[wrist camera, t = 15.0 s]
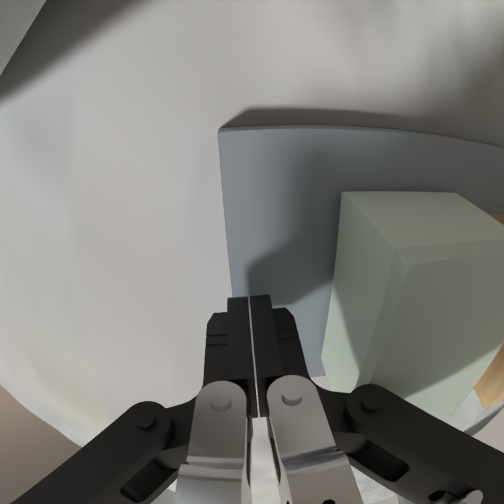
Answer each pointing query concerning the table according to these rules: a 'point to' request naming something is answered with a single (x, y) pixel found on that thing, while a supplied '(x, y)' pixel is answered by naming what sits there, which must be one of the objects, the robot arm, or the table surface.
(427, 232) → the block
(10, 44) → the serving bowl
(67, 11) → the table surface
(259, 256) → the board
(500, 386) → the sleeve
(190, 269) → the table surface
